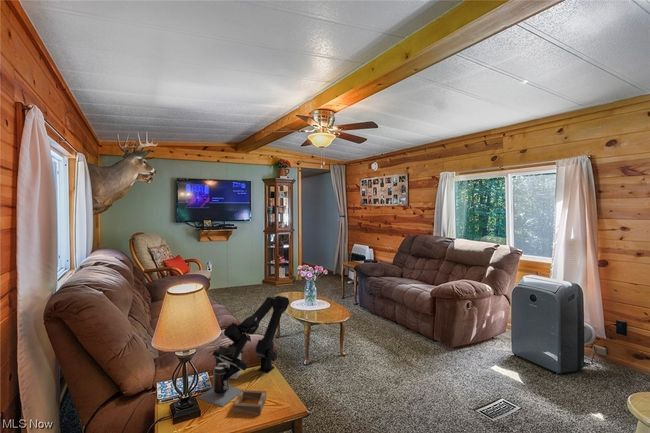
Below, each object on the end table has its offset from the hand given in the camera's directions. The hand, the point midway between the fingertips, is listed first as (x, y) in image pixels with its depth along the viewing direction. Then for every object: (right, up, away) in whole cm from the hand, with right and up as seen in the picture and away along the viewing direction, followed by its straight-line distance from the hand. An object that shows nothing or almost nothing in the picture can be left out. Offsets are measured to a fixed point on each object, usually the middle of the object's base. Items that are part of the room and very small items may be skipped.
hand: (219, 378), depth 155 cm
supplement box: (+1, -8, +19) cm, 20 cm away
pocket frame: (+16, -9, -7) cm, 19 cm away
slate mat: (+1, -8, +1) cm, 8 cm away
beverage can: (+1, -7, +1) cm, 7 cm away
